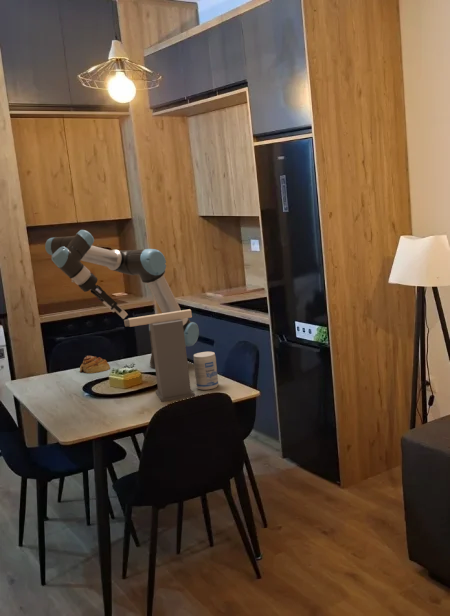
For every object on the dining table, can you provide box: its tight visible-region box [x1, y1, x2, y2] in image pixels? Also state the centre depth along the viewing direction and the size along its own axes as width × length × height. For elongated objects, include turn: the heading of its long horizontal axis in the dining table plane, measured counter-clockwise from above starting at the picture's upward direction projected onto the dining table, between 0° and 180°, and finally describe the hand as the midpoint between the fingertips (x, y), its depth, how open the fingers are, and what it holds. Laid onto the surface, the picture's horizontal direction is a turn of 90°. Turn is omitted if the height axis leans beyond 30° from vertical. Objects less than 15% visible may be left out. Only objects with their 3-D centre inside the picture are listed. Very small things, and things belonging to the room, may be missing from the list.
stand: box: [150, 319, 195, 403], centre depth 271 cm, size 14×14×32 cm
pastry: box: [79, 355, 111, 374], centre depth 329 cm, size 13×15×8 cm
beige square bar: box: [123, 308, 193, 328], centre depth 268 cm, size 3×28×3 cm, turn 105°
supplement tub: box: [193, 351, 219, 391], centre depth 278 cm, size 10×10×15 cm
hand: (120, 313), depth 270 cm, fingers open, 13 cm apart
